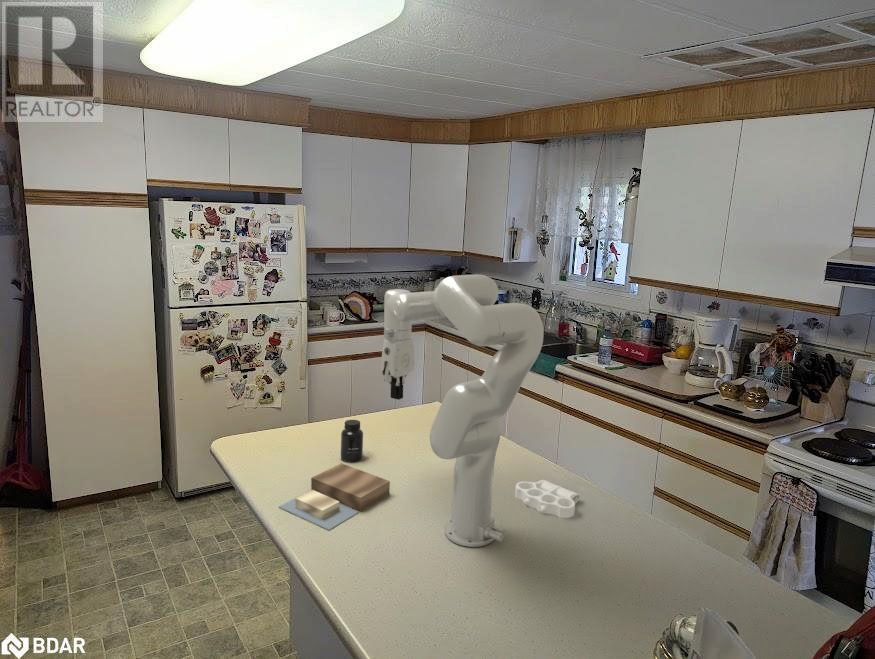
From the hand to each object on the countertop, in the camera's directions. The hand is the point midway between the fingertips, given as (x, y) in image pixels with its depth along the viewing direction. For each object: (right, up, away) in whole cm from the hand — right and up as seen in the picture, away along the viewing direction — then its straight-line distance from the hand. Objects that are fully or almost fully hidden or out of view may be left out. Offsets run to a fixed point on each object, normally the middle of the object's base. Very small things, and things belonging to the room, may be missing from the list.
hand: (396, 397), depth 167 cm
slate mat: (-19, -28, -13) cm, 36 cm away
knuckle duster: (+42, -29, -3) cm, 51 cm away
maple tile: (-20, -26, -13) cm, 35 cm away
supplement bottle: (-15, -21, +19) cm, 32 cm away
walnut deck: (-13, -26, -3) cm, 29 cm away
